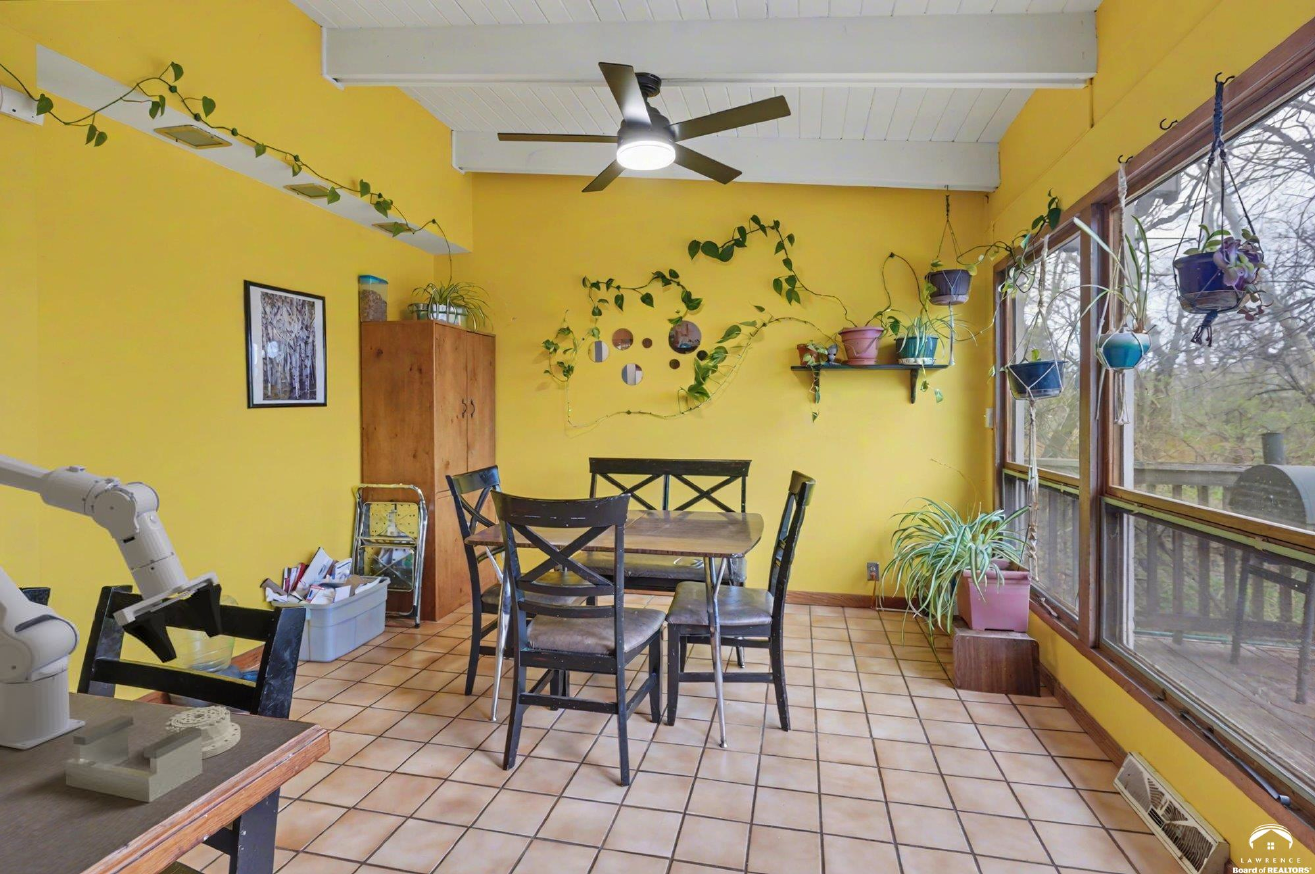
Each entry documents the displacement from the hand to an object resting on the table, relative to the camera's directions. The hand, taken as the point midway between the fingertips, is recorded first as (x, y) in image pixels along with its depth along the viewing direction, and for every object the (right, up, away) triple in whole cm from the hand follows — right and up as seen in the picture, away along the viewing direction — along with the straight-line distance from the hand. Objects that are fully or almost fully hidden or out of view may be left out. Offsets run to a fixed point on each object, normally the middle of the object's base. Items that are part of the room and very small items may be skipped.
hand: (194, 647), depth 101 cm
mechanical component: (+4, -13, -5) cm, 14 cm away
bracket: (+2, -13, -13) cm, 18 cm away
